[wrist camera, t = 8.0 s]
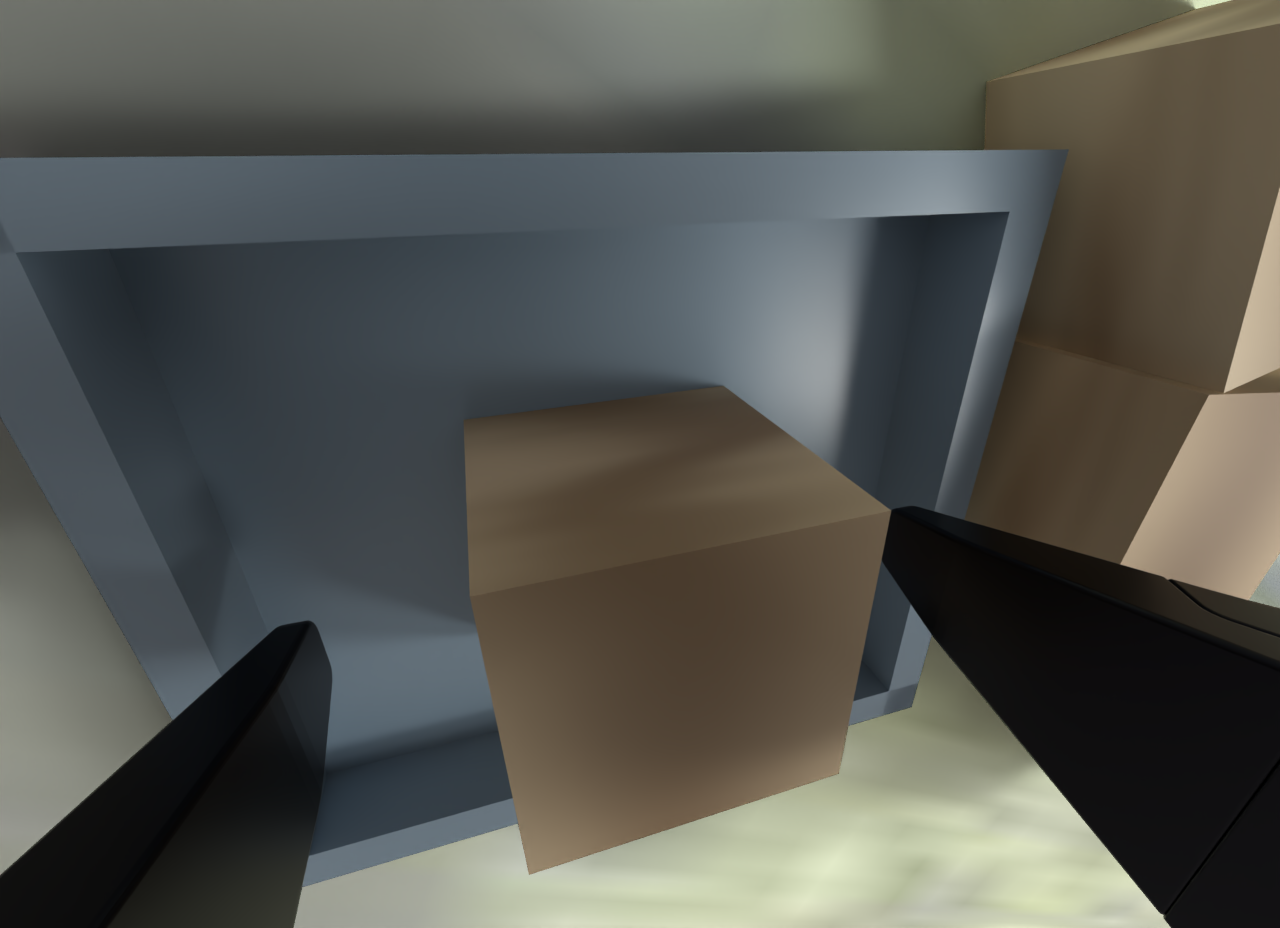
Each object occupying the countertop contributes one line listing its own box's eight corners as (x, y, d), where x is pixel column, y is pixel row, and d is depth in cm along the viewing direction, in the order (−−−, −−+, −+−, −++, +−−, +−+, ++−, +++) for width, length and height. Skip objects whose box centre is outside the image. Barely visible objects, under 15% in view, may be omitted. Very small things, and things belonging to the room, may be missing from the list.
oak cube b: (1115, 329, 13) (1389, 388, 9) (1043, 497, 15) (1245, 604, 11) (964, 326, 12) (1208, 394, 8) (906, 511, 14) (1081, 637, 10)
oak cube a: (723, 385, 10) (891, 510, 6) (715, 585, 12) (839, 774, 8) (463, 420, 9) (470, 595, 5) (503, 632, 11) (529, 874, 7)
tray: (953, 156, 10) (1069, 149, 8) (855, 642, 15) (911, 706, 13) (22, 166, 7) (-147, 159, 5) (301, 783, 12) (272, 896, 10)
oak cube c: (1189, 10, 10) (1630, -96, 6) (1146, 257, 13) (1455, 288, 9) (982, 82, 10) (1326, 14, 6) (976, 327, 12) (1223, 393, 8)
